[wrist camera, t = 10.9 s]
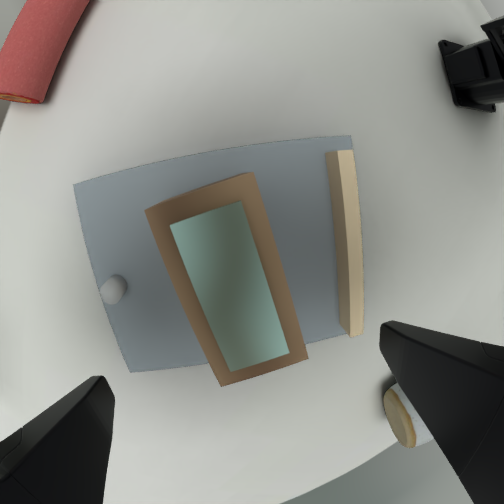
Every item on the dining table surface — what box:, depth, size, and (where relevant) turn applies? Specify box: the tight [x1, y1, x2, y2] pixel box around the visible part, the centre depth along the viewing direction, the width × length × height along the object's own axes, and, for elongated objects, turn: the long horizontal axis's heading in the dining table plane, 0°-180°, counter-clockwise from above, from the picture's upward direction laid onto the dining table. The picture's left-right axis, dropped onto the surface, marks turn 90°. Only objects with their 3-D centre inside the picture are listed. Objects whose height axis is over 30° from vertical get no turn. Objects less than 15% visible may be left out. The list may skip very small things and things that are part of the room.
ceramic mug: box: [383, 383, 434, 448], centre depth 22 cm, size 11×8×8 cm
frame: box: [144, 172, 308, 387], centre depth 16 cm, size 5×10×5 cm, turn 17°
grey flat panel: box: [73, 135, 364, 372], centre depth 18 cm, size 18×14×3 cm
